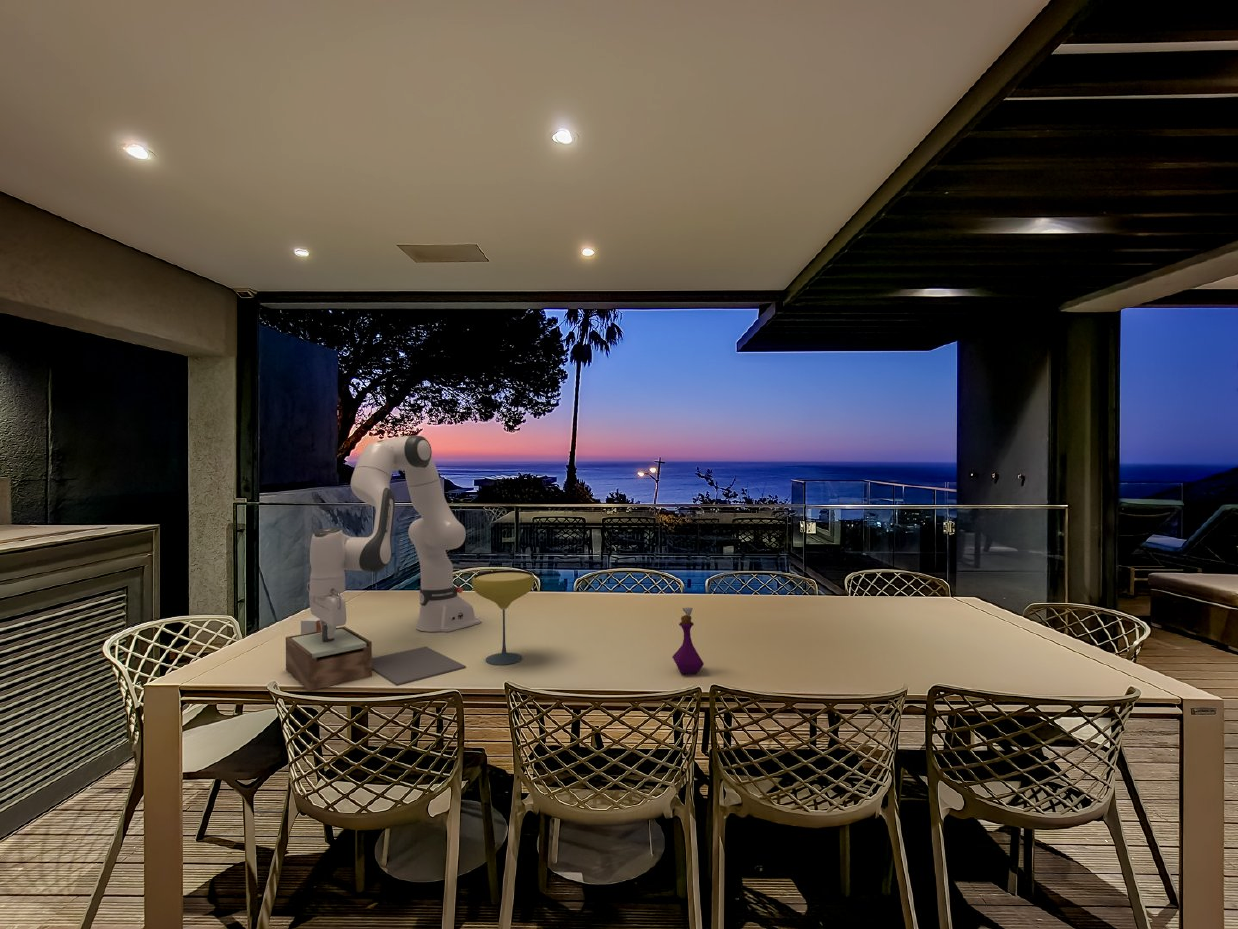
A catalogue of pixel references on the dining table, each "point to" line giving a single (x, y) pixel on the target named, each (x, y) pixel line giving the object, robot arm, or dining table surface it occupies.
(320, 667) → the walnut box
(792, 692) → the dining table surface
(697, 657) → the perfume bottle
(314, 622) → the small box
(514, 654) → the cocktail glass
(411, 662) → the mat
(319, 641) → the lid
